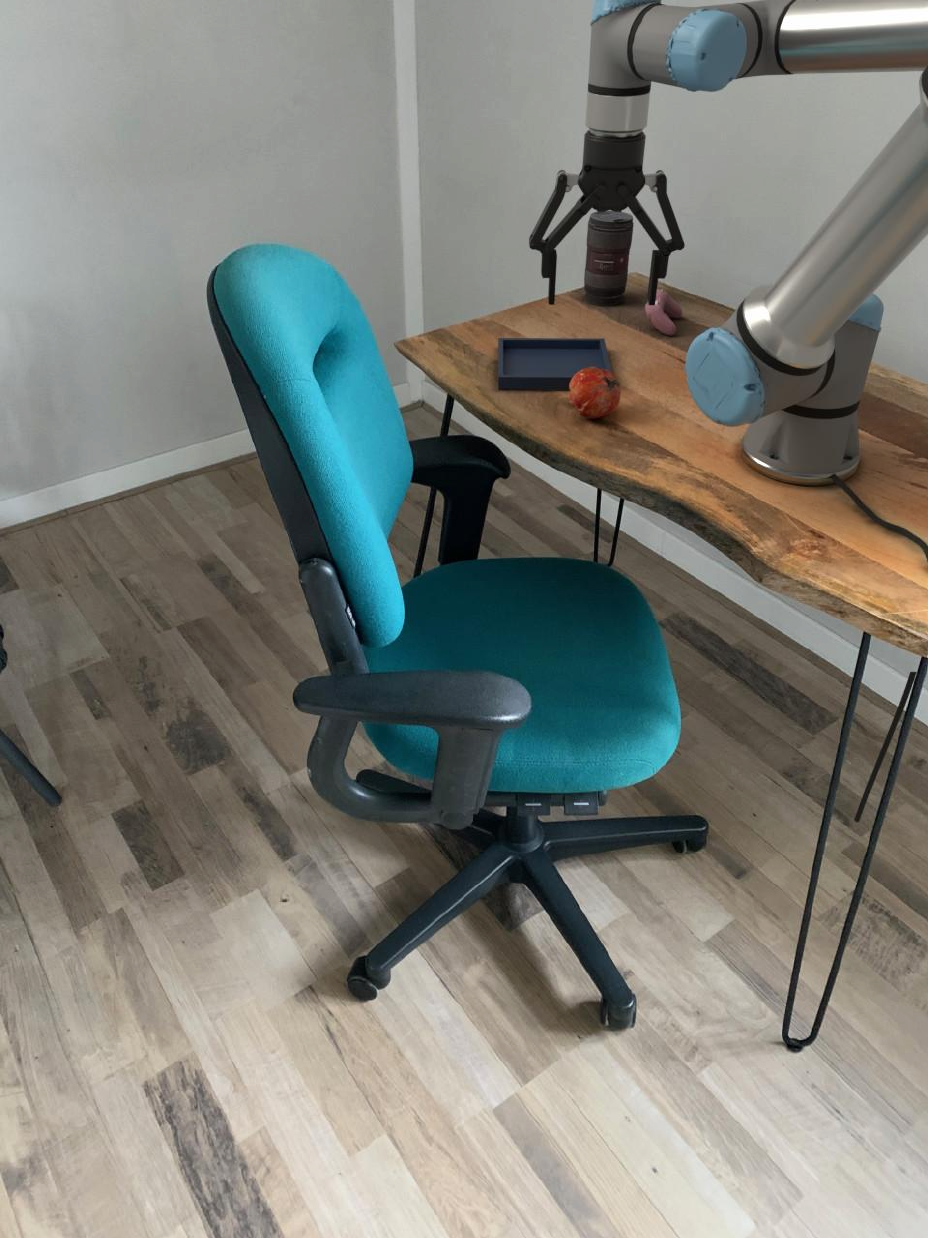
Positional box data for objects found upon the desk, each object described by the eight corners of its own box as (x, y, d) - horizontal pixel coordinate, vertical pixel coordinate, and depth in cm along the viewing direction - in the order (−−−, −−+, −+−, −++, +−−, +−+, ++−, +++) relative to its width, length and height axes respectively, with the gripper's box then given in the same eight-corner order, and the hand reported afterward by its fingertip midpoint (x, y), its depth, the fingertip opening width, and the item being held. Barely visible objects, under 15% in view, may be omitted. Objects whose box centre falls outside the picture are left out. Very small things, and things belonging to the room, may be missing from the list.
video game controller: (660, 323, 172) (647, 287, 169) (684, 314, 170) (671, 277, 167) (652, 343, 165) (637, 306, 162) (677, 335, 162) (663, 296, 159)
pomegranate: (559, 429, 141) (598, 411, 132) (548, 381, 141) (586, 360, 132) (599, 423, 144) (639, 405, 135) (588, 376, 144) (628, 354, 135)
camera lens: (634, 301, 177) (643, 217, 167) (600, 310, 173) (607, 224, 164) (607, 288, 182) (614, 206, 173) (573, 297, 179) (579, 213, 169)
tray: (612, 390, 146) (613, 377, 145) (498, 389, 147) (498, 376, 146) (603, 350, 159) (604, 338, 157) (498, 349, 159) (498, 337, 158)
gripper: (712, 123, 119) (688, 292, 132) (513, 123, 120) (509, 291, 133) (723, 136, 113) (697, 311, 127) (514, 136, 114) (509, 310, 127)
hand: (600, 301), depth 130 cm, fingers open, 13 cm apart
